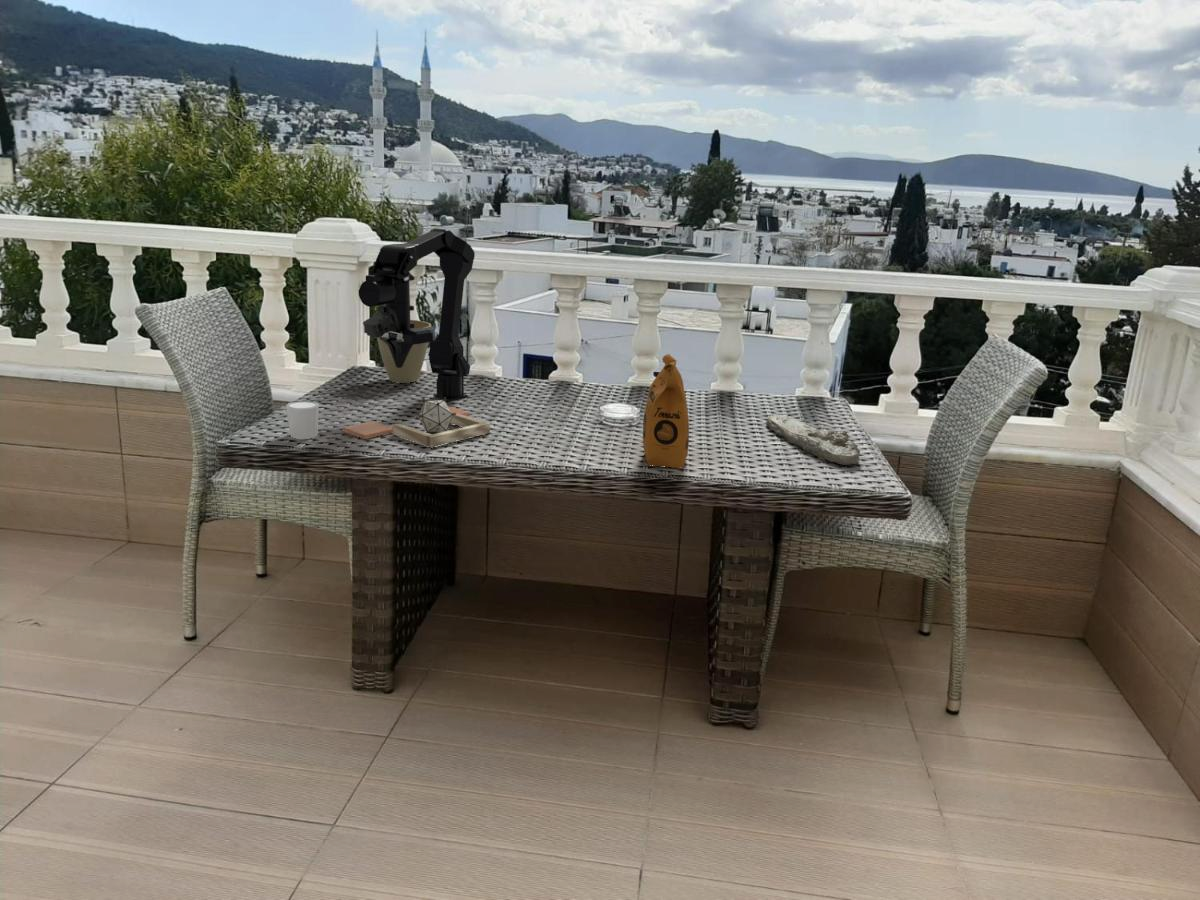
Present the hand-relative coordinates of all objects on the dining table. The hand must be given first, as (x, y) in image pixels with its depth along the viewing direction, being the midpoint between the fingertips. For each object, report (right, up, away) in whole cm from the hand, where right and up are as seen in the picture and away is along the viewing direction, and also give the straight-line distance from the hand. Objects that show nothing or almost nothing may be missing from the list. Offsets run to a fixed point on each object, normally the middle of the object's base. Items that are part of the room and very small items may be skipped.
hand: (399, 367), depth 212 cm
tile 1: (-4, -15, -11) cm, 20 cm away
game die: (+10, -16, -9) cm, 21 cm away
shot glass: (-17, -17, -16) cm, 29 cm away
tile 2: (+10, -11, +5) cm, 16 cm away
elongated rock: (+96, -19, -3) cm, 98 cm away
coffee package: (+61, -22, -20) cm, 68 cm away
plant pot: (-7, 0, +38) cm, 38 cm away
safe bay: (+12, -16, -10) cm, 22 cm away
